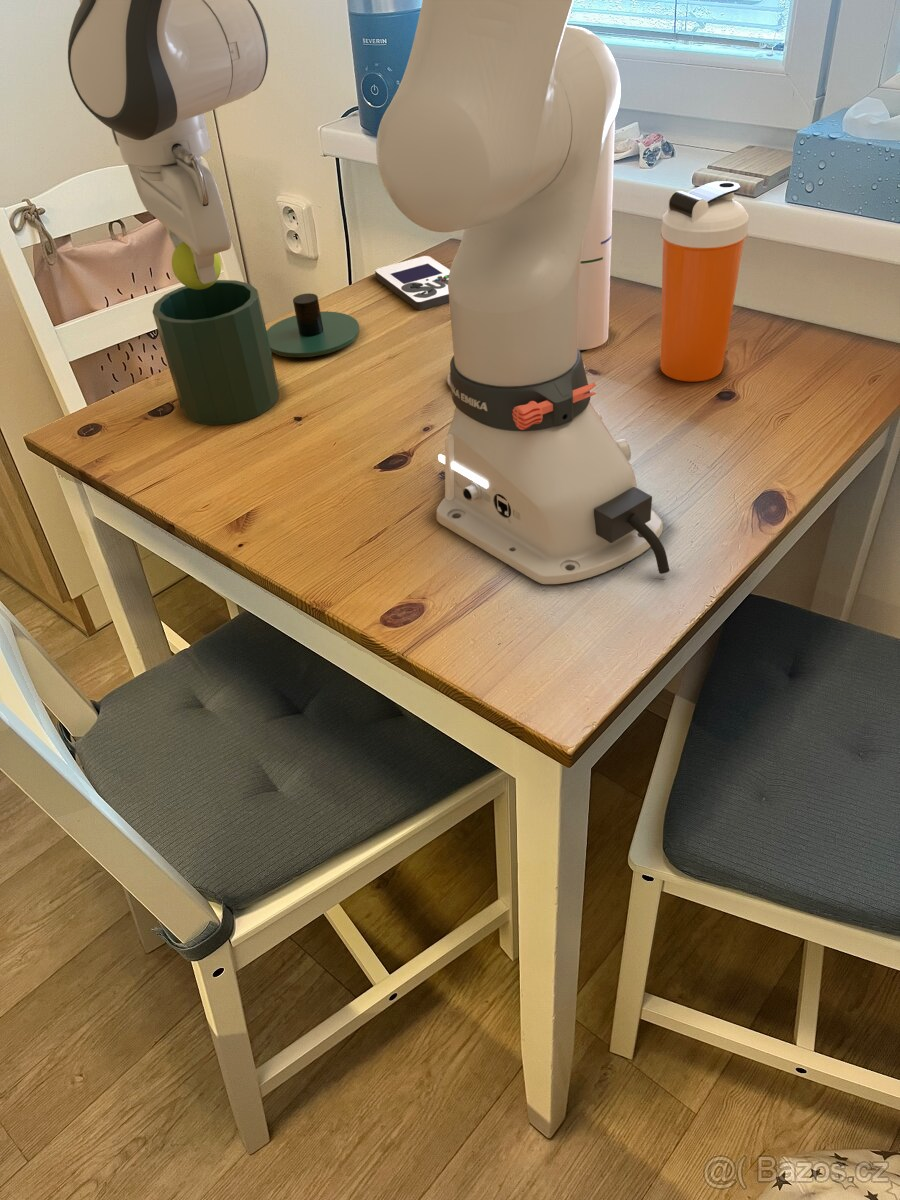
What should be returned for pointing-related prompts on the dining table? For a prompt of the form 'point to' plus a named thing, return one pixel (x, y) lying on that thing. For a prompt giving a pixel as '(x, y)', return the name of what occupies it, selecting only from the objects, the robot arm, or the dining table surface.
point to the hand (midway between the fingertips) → (197, 272)
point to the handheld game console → (417, 281)
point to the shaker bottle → (699, 278)
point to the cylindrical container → (597, 256)
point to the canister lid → (311, 330)
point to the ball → (190, 267)
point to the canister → (218, 352)
